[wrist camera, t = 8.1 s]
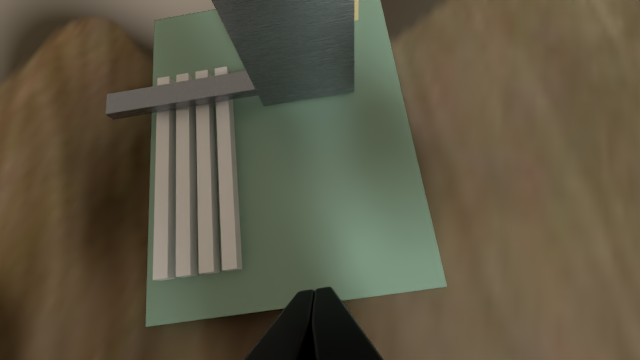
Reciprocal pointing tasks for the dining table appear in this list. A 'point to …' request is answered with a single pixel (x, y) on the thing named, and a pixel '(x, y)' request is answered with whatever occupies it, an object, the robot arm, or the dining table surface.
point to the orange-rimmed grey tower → (265, 58)
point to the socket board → (282, 185)
